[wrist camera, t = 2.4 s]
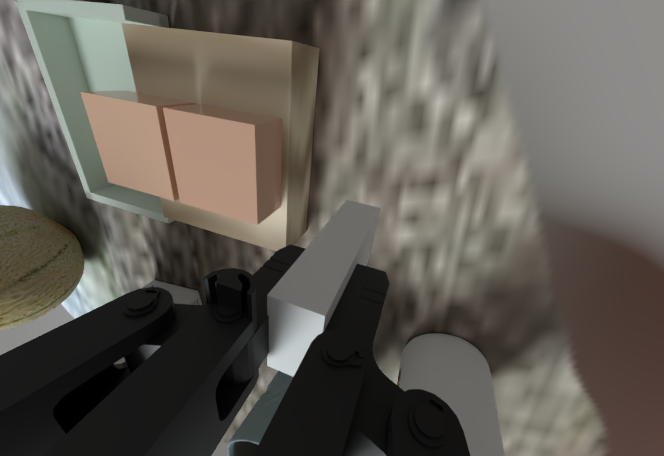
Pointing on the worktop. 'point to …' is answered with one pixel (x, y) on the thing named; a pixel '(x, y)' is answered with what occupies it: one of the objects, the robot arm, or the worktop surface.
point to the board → (242, 95)
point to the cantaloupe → (35, 265)
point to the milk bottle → (456, 386)
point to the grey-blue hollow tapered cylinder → (259, 418)
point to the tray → (88, 80)
